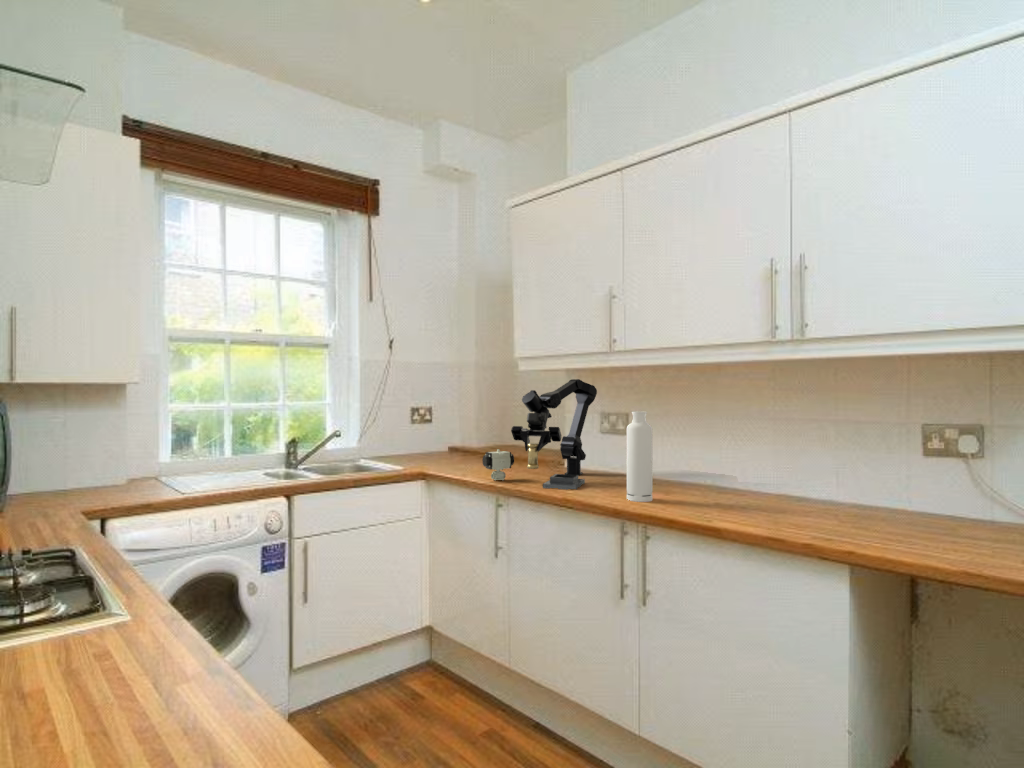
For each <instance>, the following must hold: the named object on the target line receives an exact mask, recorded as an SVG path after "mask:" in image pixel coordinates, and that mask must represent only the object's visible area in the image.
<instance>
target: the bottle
mask: <svg viewBox="0 0 1024 768" xmlns="http://www.w3.org/2000/svg"><path fill="white" fill-rule="evenodd" d="M631 414H632V420H631V422H630V423H629V424H627V426H626V500H627V499H628V500H627V501H629V500H630V502H637V503H638V502H639V503H647V502H652V501H653V427H652V425H650V423H648V421H647V418H646V417H647V414H648V411H631Z"/></svg>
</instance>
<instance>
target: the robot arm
mask: <svg viewBox="0 0 1024 768" xmlns="http://www.w3.org/2000/svg"><path fill="white" fill-rule="evenodd" d="M572 393H573V394H575V398H576V402H577V404H576V407H575V410H574V411H575V412H574V414H573V418H572V421H571V426H570V428H569V432H568V434H567V435H565V436H562V432H561V428H560V426H548V430H546V429H547V422H548V419H551V418H552V414H551V412H550V410H549V409H557V407H559V406H560V405H561V403H562V401H563V400H564V399H565V398H567V397H568V396H569V395H571V394H572ZM597 394H598V390H597V388H596V386H595V385H594V384H590V383H587V382H585V381H583V380H582V379H579V378H576V379H575V378H572V379H570V380H569V381H567V382H566V383H564V384H563V385H561V386H560V387H558V388H557V389H555V390H553V391H548V392H545V393H542V394H541V395H539V394H538V393H537V391H536V390H534V389H531V390H530V391H529V392H527V393H526V394H524V395H523V396H522V399H521V402H522V403H523V405H524V406H525V407H526V408H527V410H528V413H527V417H526V422H527V423H528V424H527V427H528V428H526V427H525V428H524V427H523V426H522V425H521V426H520V425H513V426H511V430H510V432H511V435H512V438H513V440H514V441H522V442H523V443H524V449H525V452H528V447H527V444H531V441H530V440H531V439H530V437H540V438H539V442H538V443H537V444H538V447H537V452H538V453H539V452H540V451H541V449H543V448H544V447H545V446H547V445H548V444H549V443H551V442H560V444H559V446H560V447H559V448H560V449H559V450H560V454H561V457H562V458H561V459H563V460H564V459H565V460H566V472H564V474H568V475H578V476H581V475H582V474H583V471H582V470H581V469H582V468H581V462H582V461H584V460H586V457H587V454H586V452H585V451H584V450H583V441H582V439H581V436H582V432H583V428H584V426H585V422H586V418H587V414H588V410H589V408H590V406H591V404H593V402H594V401H595V399H596V398H597Z"/></svg>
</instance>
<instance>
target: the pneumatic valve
mask: <svg viewBox="0 0 1024 768" xmlns="http://www.w3.org/2000/svg"><path fill="white" fill-rule="evenodd" d="M514 464H515V457H514V454H512V452H511V451H507V450H505V451H501V450H500V449H496V451H486V452H485V454H483V456H482V466H483V467H485V469H487V470H493V471H492V473H491V475H490V477H491V480H493V479H494V480H493V481H496V480H502V481H505V479H506V472H505V471H504V469H512V466H513V465H514Z"/></svg>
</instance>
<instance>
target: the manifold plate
mask: <svg viewBox="0 0 1024 768" xmlns="http://www.w3.org/2000/svg"><path fill="white" fill-rule="evenodd" d="M585 481H586V479H585V478H579V475H568V474H565V473H564V474H563V473H562V474H561V473H555V474H553V475H551V476H550V477H549V480H547V481H545V482H543V483H542V489H550V488H558V489H557V490H568V489H576V490H578V489H579V488H580V487H582V486H583V485H585ZM582 484H583V485H582ZM581 485H582V486H581ZM578 487H579V488H578ZM577 488H578V489H577Z"/></svg>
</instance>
